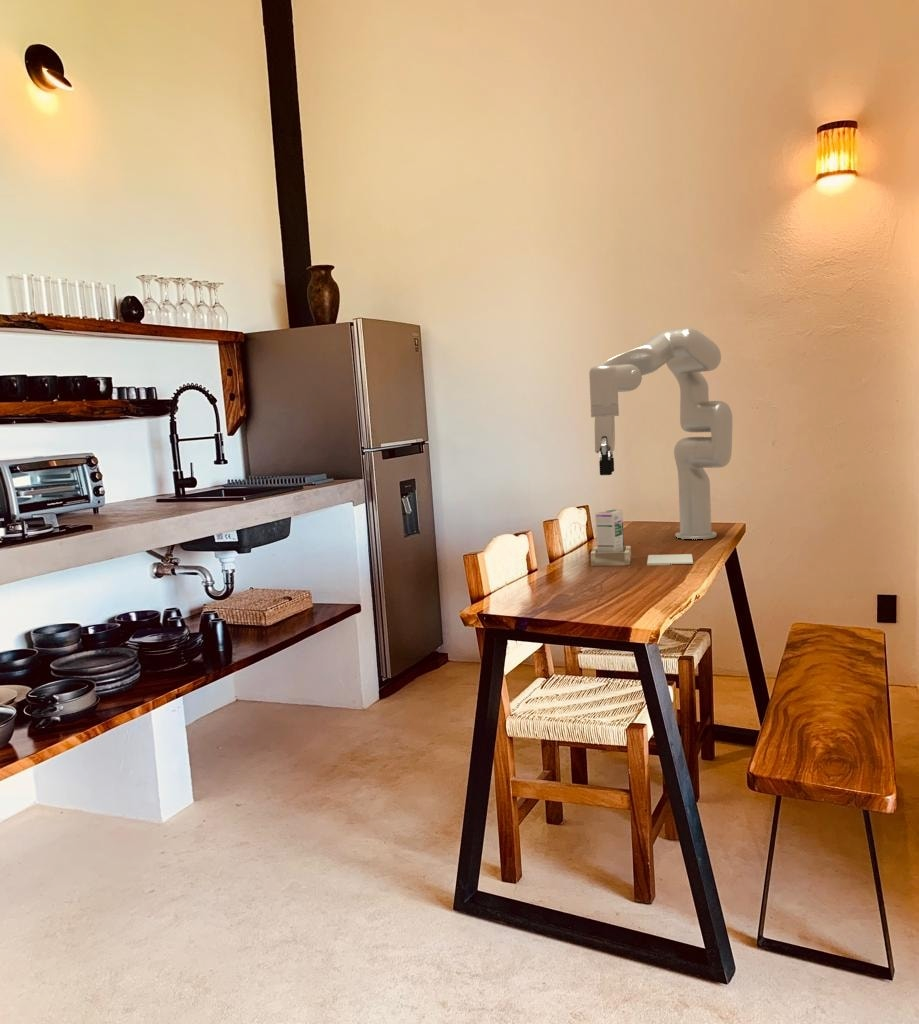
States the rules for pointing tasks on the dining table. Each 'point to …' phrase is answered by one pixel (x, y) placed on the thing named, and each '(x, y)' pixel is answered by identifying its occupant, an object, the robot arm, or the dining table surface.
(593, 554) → the holder
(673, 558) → the mat
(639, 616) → the dining table surface
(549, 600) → the dining table surface
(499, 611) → the dining table surface
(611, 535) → the syrup box
